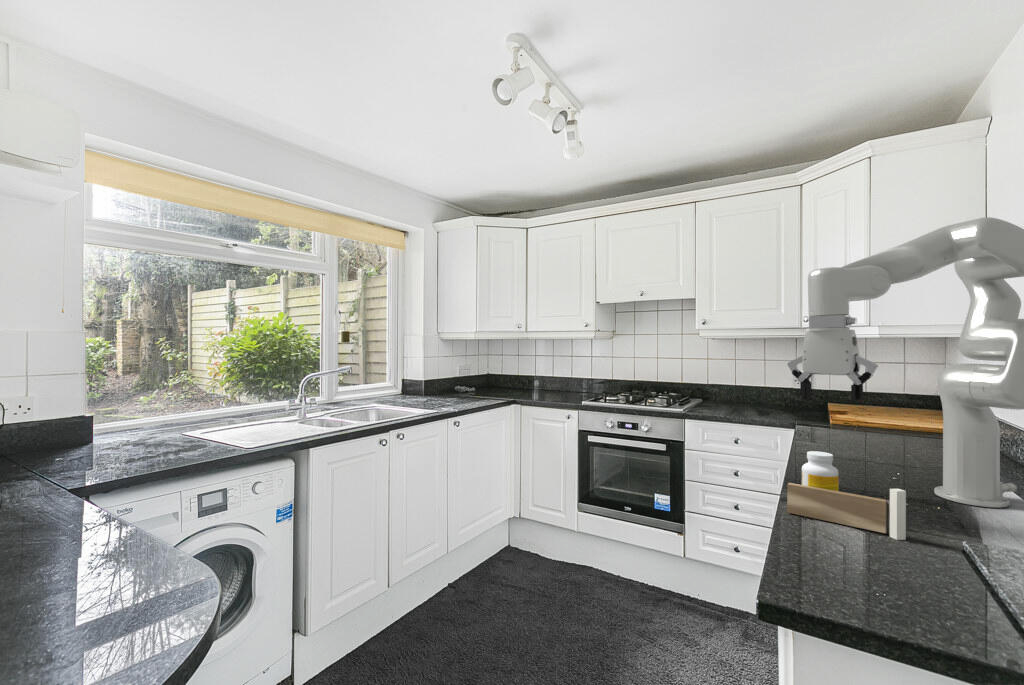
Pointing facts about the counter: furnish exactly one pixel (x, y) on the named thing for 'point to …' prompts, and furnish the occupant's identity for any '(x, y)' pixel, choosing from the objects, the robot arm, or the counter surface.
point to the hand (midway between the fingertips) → (830, 400)
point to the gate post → (898, 514)
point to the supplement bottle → (820, 471)
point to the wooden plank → (839, 507)
